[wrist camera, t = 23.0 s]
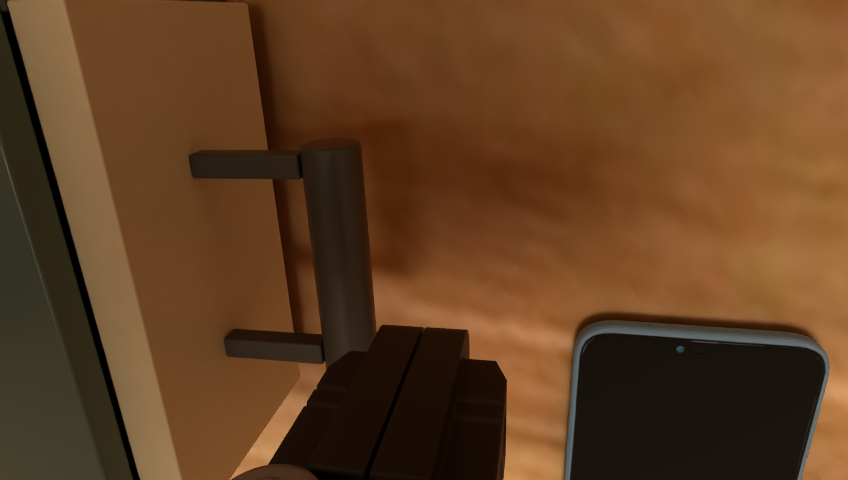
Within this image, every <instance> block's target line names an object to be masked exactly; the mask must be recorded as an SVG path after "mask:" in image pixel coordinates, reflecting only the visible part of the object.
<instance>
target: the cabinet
mask: <svg viewBox="0 0 848 480" xmlns="http://www.w3.org/2000/svg"><path fill="white" fill-rule="evenodd" d="M7 1H9V0H0V480H140V478H139V475H138V471H137V467H136V464H135V461H134V462H133V463H132V464H131V465H130V466H129V462H128V459H127V455H126V452H125V448H124V445H123V441H122V438H121V434H120V431H119V427H118V423H117V420H116V416H115V413H114V409H113V406H112V402H111V399H110V395H109V392H108V388H107V385H106V381H105V378H104V374H103V371H102V367H101V364H100V360H99V357H98V353H97V350H96V346H95V342H94V339H93V335H92V332H91V328H90V325H89V321H88V318H87V314H86V311H85V307H84V304H83V300H82V297H81V293H80V290H79V286H78V283H77V279H76V276H75V272H74V268H73V265H72V261H71V258H70V254H69V251H68V247H67V244H66V240H65V237H64V233H63V230H62V226H61V223H60V219H59V216H58V212H57V209H56V205H55V202H54V198H53V194H52V191H51V187H50V184H49V180H48V177H47V173H46V170H45V166H44V163H43V159H42V156H41V152H40V149H39V145H38V142H37V138H36V135H35V131H34V128H33V124H32V121H31V117H30V113H29V110H28V106H27V103H26V99H25V96H24V92H23V89H22V85H21V82H20V78H19V75H18V71H17V68H16V64H15V61H14V57H13V54H12V50H11V47H10V43H9V40H17V37H16V33H15V30H14V26H13V23H12V19H11V16H10V12H9V8H8V5H7ZM175 1H204V2H224V0H175Z"/></svg>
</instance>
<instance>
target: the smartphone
mask: <svg viewBox="0 0 848 480" xmlns="http://www.w3.org/2000/svg"><path fill="white" fill-rule="evenodd" d="M828 375H829V359H828V356H827V354H826V352H825V351H824V350H823V349H822V348H821V346H820V345H819V344H818V343H817V342H816V341H815V340H813V339H812V338H810V337H807V336H804V335H801V334H797V333H791V332H785V331H770V330H755V329H740V328H726V327H711V326H696V325H682V324H667V323H652V322H638V321H623V320H603V321H598V322H594V323H591V324H589V325H587V326H586V327H585V328H583V329H582V331H581V332H580V333H579V335H578V337H577V339H576V342H575V346H574V352H573V365H572V378H571V392H570V405H569V418H568V432H567V445H566V458H565V472H564V480H802V474H803V470H804V467H805V463H806V459H807V457H808V453H809V449H810V445H811V442H812V438H813V434H814V430H815V427H816V423H817V419H818V416H819V412H820V407H821V403H822V399H823V396H824V392H825V388H826V384H827V381H828Z"/></svg>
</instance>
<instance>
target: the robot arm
mask: <svg viewBox="0 0 848 480" xmlns="http://www.w3.org/2000/svg"><path fill="white" fill-rule="evenodd" d="M506 397H507V380H506V378H505V376H504V374H503V373H502V371H501V369H500V367H499V366H498V364H497V362H496V361H487V360H473V359H469V333H468V330H461V329H445V328H430V327H426V328H425V329H424V328H423V327H412V326H396V325H382V326H381V327H380V328H379V330H378V332H377V334H376V336H375V338H374V340H373V342H372V343H371V345H370V347H369V349H368V351H367V352H363V351H349V352H348V353H346V354H345V355H344V356H342V357H341V358H340V359H338V360H337V361H335V362H334V363H333V364H331V365H330V366H329V367H328V369H327V370H326V372H325V373H324V375H323V377H322V378H321V380H320V382H319V383H318V385H317V390H314V391H313V393H312V395H311V396H310V398H309V399H308V401H307V406H304V407H303V409H302V411H301V412H300V414H299V416H298V417H297V419H296V420H295V422H294V424H293V425H292V427H291V429H290V430H289V432H288V433H287V435H286V437H285V438H284V440H283V441H282V443H281V445H280V446H279V448H278V450H277V451H276V453H275V454H274V456H273V458H272V459H271V461H270V463H269V464H268V465H265V466H261V467H257V468H254V469H251V470H249V471H246V472H244V473H242V474H240V475H238V476H236V477H235V478H233V479H232V480H503V478H504V466H505V455H506Z"/></svg>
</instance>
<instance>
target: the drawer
mask: <svg viewBox="0 0 848 480" xmlns="http://www.w3.org/2000/svg"><path fill="white" fill-rule="evenodd" d="M7 5H8V8H9V12H10V16H11V19H12V23H13V26H14V30H15V33H16V37H17V40H9V43H10V47H11V50H12V54H13V57H14V61H15V64H16V68H17V71H18V75H19V78H20V82H21V85H22V89H23V92H24V96H25V99H26V103H27V106H28V110H29V113H30V117H31V121H32V124H33V128H34V131H35V135H36V138H37V142H38V145H39V149H40V152H41V156H42V159H43V163H44V166H45V170H46V173H47V177H48V180H49V184H50V187H51V191H52V194H53V198H54V202H55V205H56V209H57V212H58V216H59V219H60V223H61V226H62V230H63V233H64V237H65V240H66V244H67V247H68V251H69V254H70V258H71V261H72V265H73V268H74V272H75V276H76V279H77V283H78V286H79V290H80V293H81V297H82V300H83V304H84V307H85V311H86V314H87V318H88V321H89V325H90V328H91V332H92V335H93V339H94V342H95V346H96V350H97V353H98V357H99V360H100V364H101V367H102V371H103V374H104V378H105V381H106V385H107V388H108V392H109V395H110V399H111V402H112V406H113V409H114V413H115V416H116V420H117V423H118V427H119V431H120V434H121V438H122V441H123V445H124V448H125V452H126V455H127V459H128V462H129V466H130V465H131V464H132V463H133V462H134V461H135V464H136V467H137V471H138V475H139V478H140V480H229V479H230V478H231V476H232V475H233V474H234V472H235V471H236V469H237V468H238V466H239V465H240V463H241V462H242V460H243V459H244V458H245V456H246V455H247V453H248V452H249V450H250V449H251V447H252V446H253V444H254V443H255V442H256V440H257V439H258V437H259V436H260V434H261V433H262V431H263V430H264V428H265V427H266V425H267V424H268V423H269V421H270V420H271V418H272V417H273V415H274V414H275V412H276V411H277V409H278V408H279V407H280V405H281V404H282V402H283V401H284V399H285V398H286V396H287V395H288V393H289V392H290V391H291V389H292V388H293V386H294V385H295V383H296V382H297V380H298V379H299V377H300V372H299V365H298V362H302V363H314V364H323V363H324V361H325V363H326V370H327V369H328V367H329V366H330V365H331V364H333V363H334V362H335V361H337V360H338V359H340V358H341V357H342V356H344V355H345V354H346V353H348V352H349V351H363V352H367V351H368V349H369V347H370V345H371V343H372V342H373V340H374V338H375V336H376V334H377V331H376V319H375V307H374V295H373V282H372V270H371V258H370V246H369V234H368V222H367V210H366V198H365V186H364V174H363V162H362V150H361V144H360V142H359V141H357V140H354V139H348V138H330V139H321V140H315V141H311V142H308V143H305V144H303V145H301V147H300V150H268V146H267V139H266V132H265V125H264V117H263V110H262V103H261V96H260V89H259V82H258V75H257V68H256V61H255V54H254V47H253V40H252V33H251V25H250V18H249V11H248V5H247V3H233V2H204V1H175V0H9V1H7ZM301 178H303V182H304V191H305V199H306V207H307V215H308V223H309V232H310V240H311V248H312V256H313V265H314V273H315V281H316V289H317V297H318V306H319V314H320V322H321V330H322V334H308V333H294V330H293V323H292V316H291V309H290V301H289V294H288V287H287V280H286V273H285V266H284V259H283V252H282V245H281V238H280V231H279V224H278V217H277V209H276V202H275V195H274V188H273V181H272V179H296V180H299V179H301Z"/></svg>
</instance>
